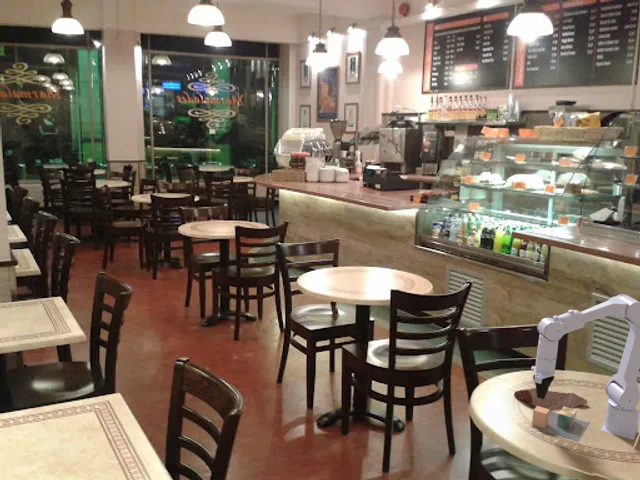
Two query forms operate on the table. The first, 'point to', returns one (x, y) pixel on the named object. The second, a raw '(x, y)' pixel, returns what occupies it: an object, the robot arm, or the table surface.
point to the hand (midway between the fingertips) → (541, 397)
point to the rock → (550, 399)
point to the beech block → (566, 417)
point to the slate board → (570, 434)
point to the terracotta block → (540, 417)
